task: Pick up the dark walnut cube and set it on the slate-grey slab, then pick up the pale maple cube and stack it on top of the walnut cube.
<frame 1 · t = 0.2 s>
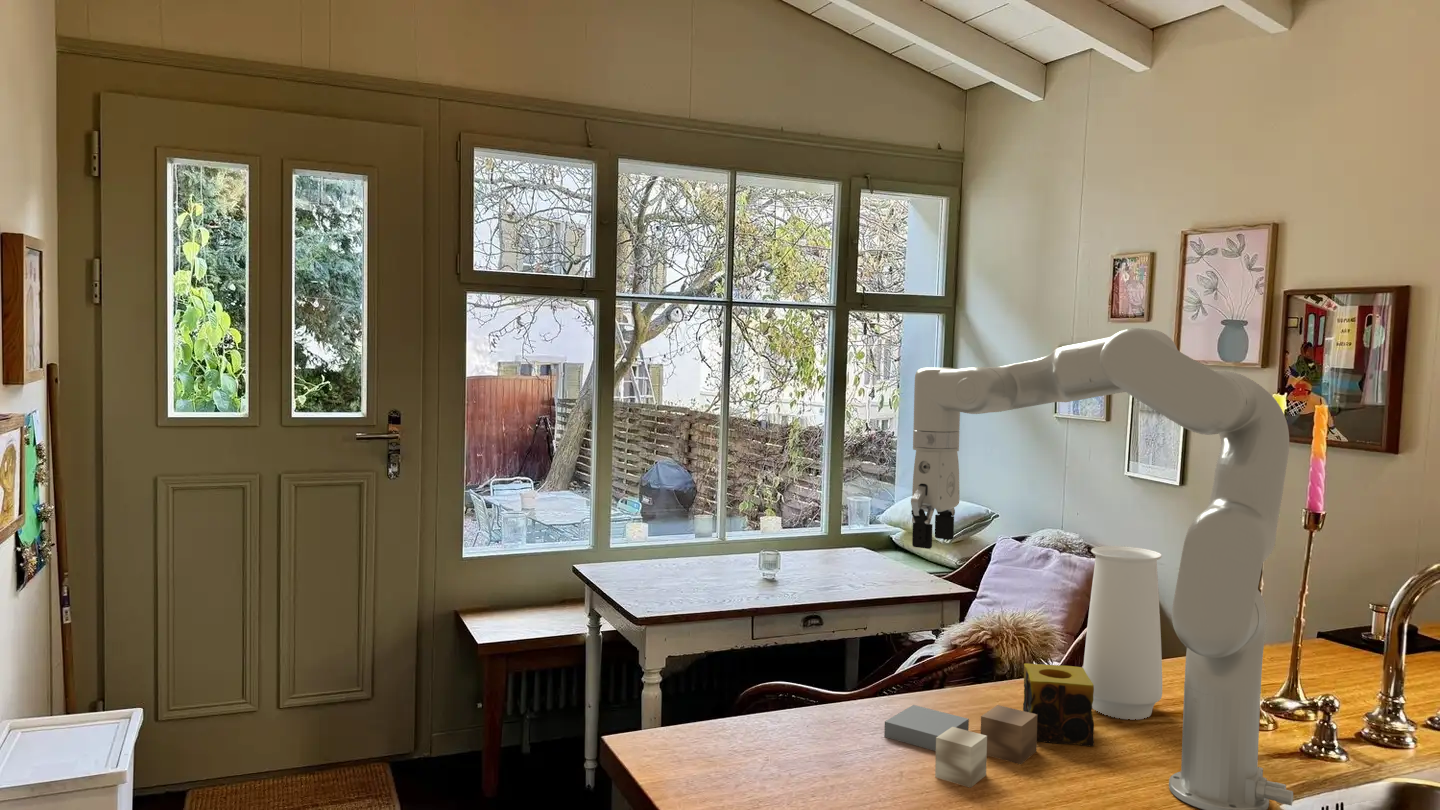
hand: (933, 543, 164), 30 cm above the worktop, fingers open, 9 cm apart
walnut block: (1008, 753, 153), on the worktop
slate slab: (926, 735, 160), on the worktop
vase: (1120, 710, 172), on the worktop
maple block: (960, 776, 144), on the worktop
yellow holed cube: (1056, 734, 161), on the worktop
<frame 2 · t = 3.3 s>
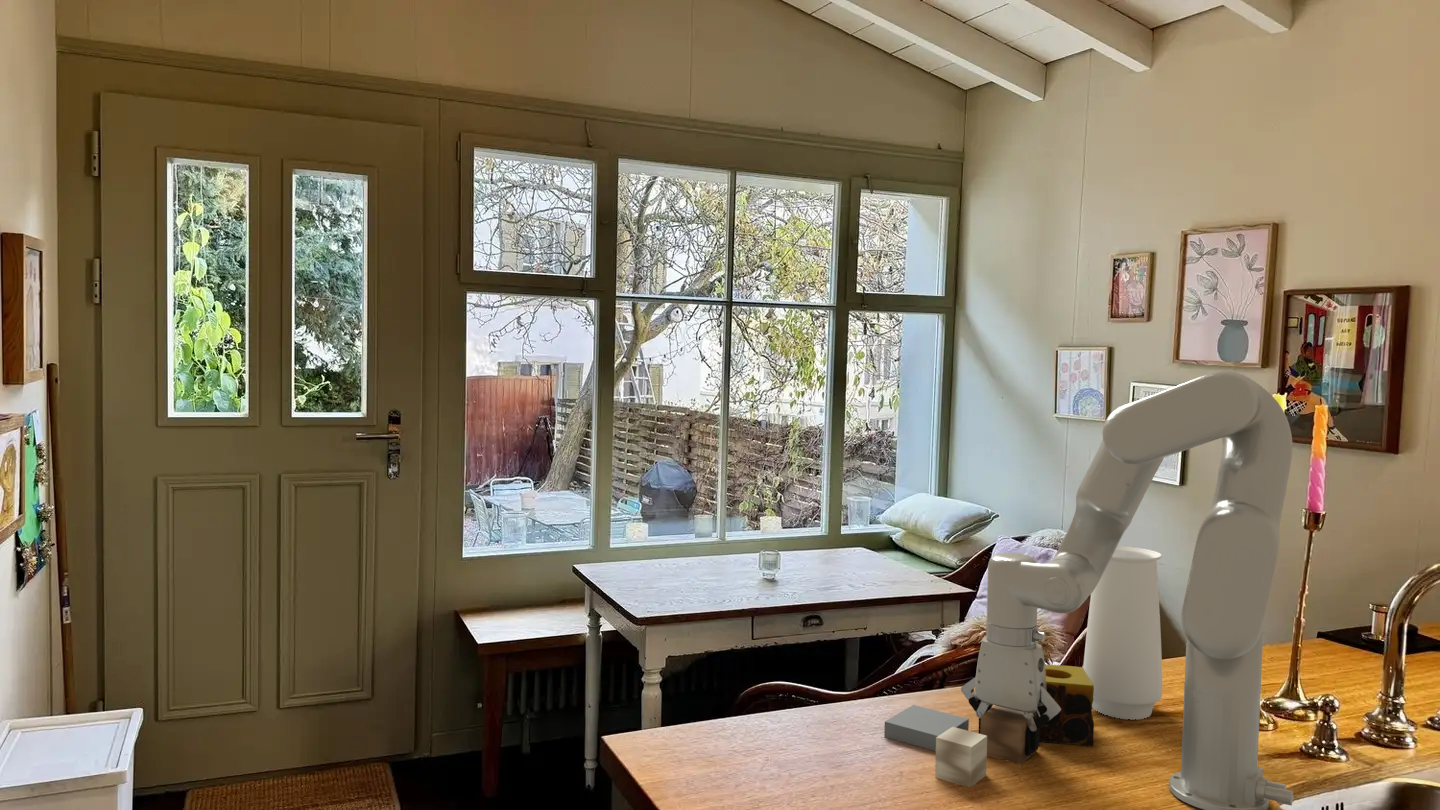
hand: (1008, 746, 153), 1 cm above the worktop, fingers closed on walnut block, 6 cm apart
walnut block: (1008, 752, 153), on the worktop, touching gripper
everything else where it was.
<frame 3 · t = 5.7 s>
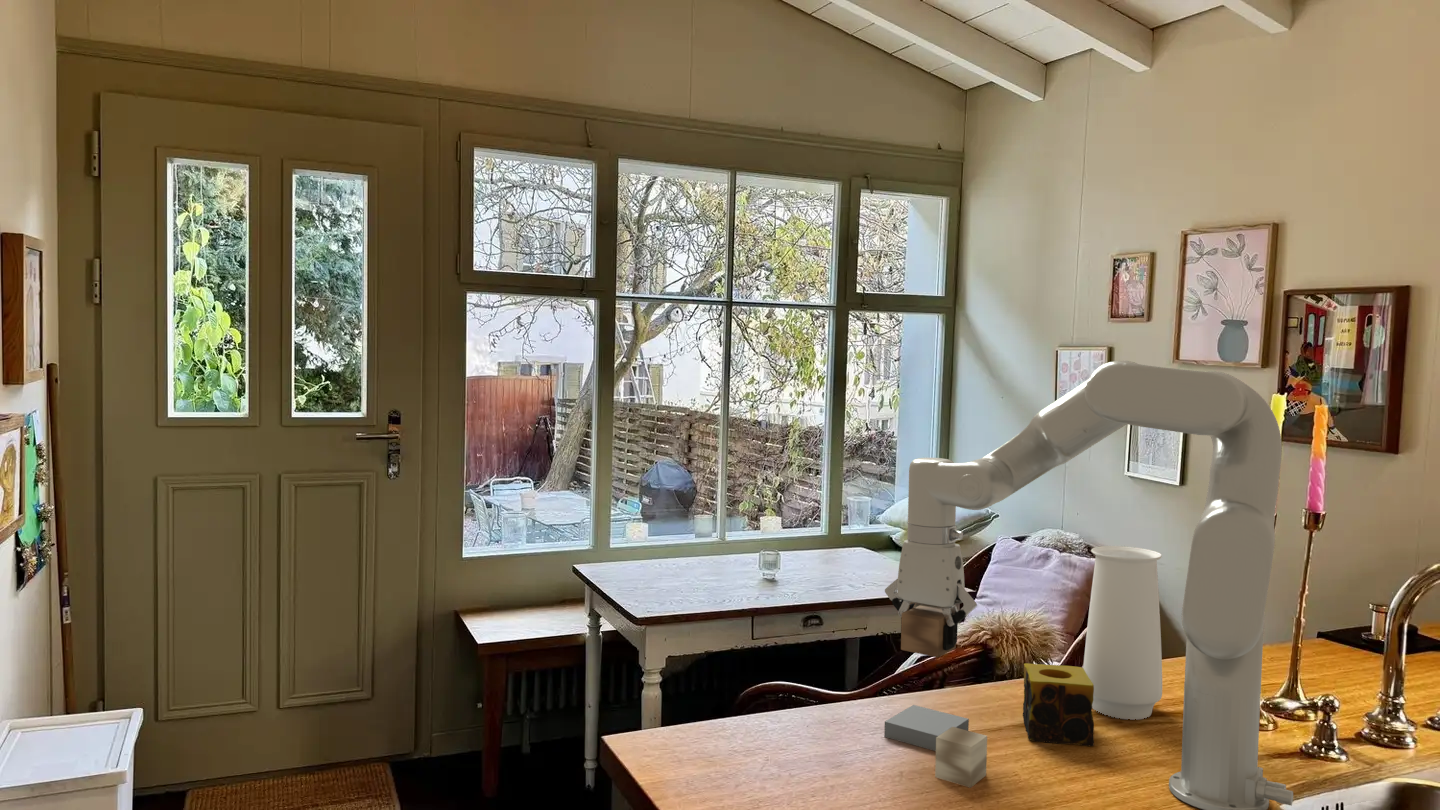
hand: (928, 643, 159), 15 cm above the worktop, fingers closed on walnut block, 6 cm apart
walnut block: (928, 648, 159), point 14 cm above the worktop, touching gripper
everything else where it was.
when the fingers open (4 cm above the worktop, at t = 8.1 s): walnut block stays where it is, resting on slate slab.
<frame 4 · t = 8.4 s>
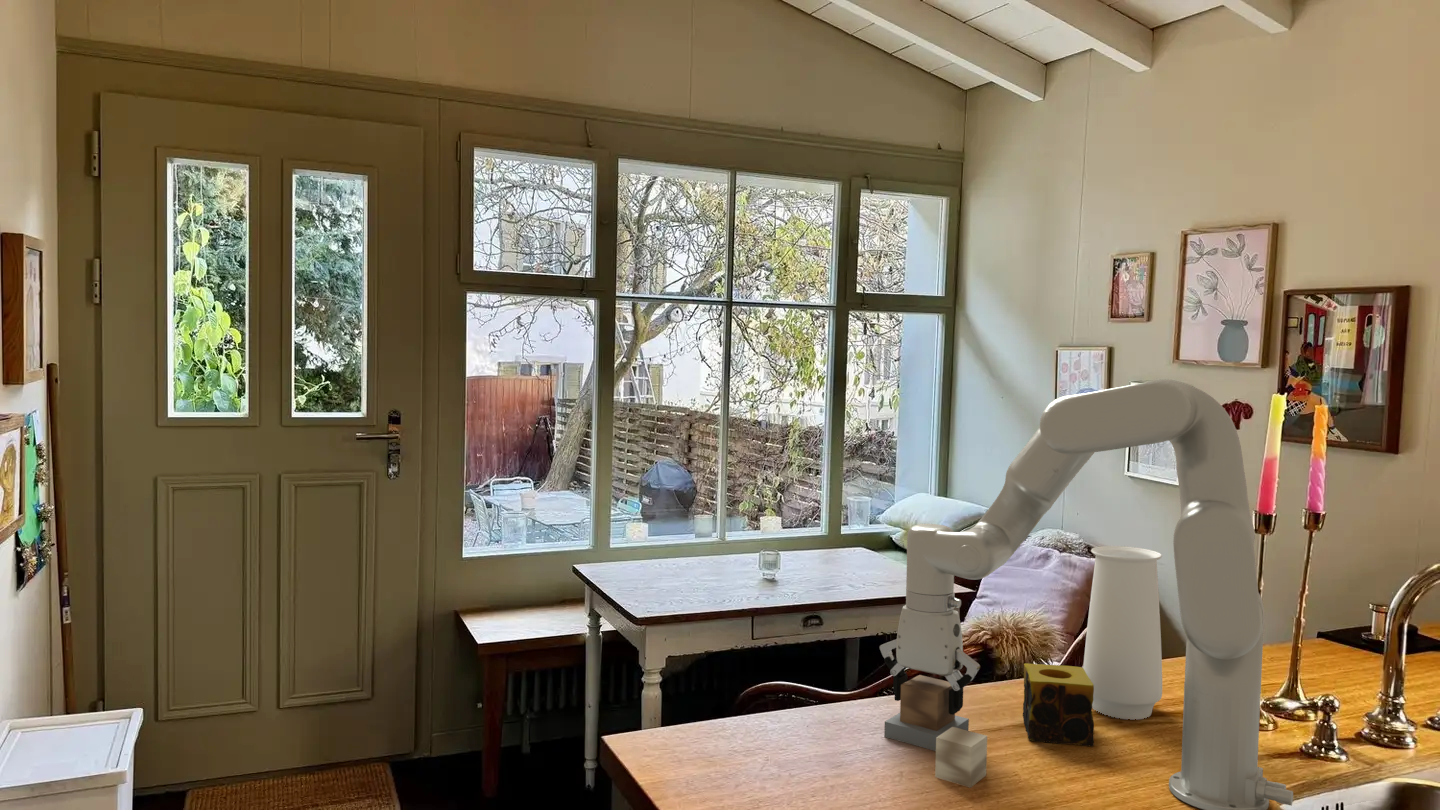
hand: (927, 705, 159), 5 cm above the worktop, fingers open, 9 cm apart
walnut block: (927, 720, 159), point 2 cm above the worktop, touching slate slab
everything else where it was.
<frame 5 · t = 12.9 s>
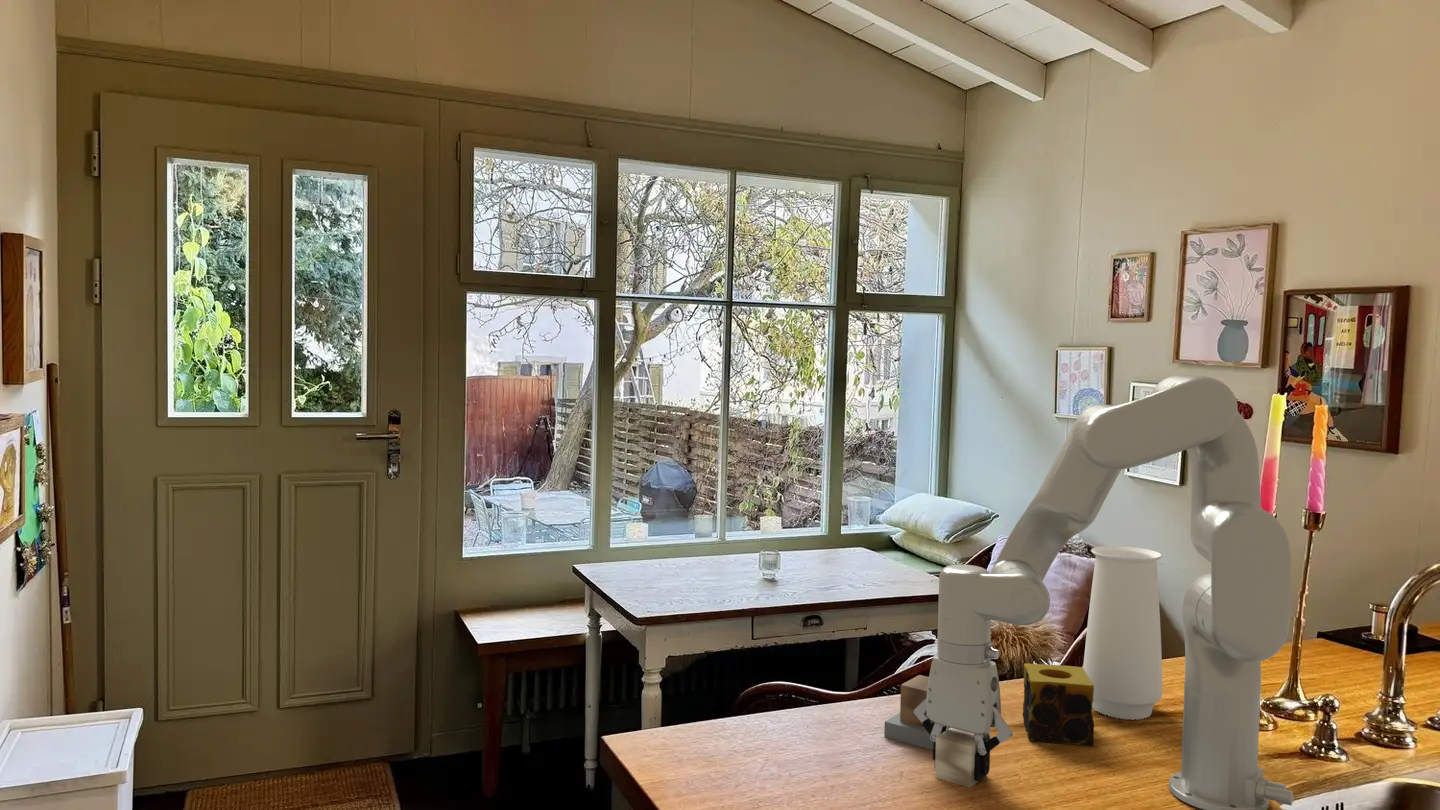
hand: (960, 770, 144), 1 cm above the worktop, fingers closed on maple block, 5 cm apart
maple block: (960, 776, 144), on the worktop, touching gripper
everything else where it was.
when the fingers open (10 cm above the worktop, at t = 17.3 s): maple block stays where it is, resting on walnut block.
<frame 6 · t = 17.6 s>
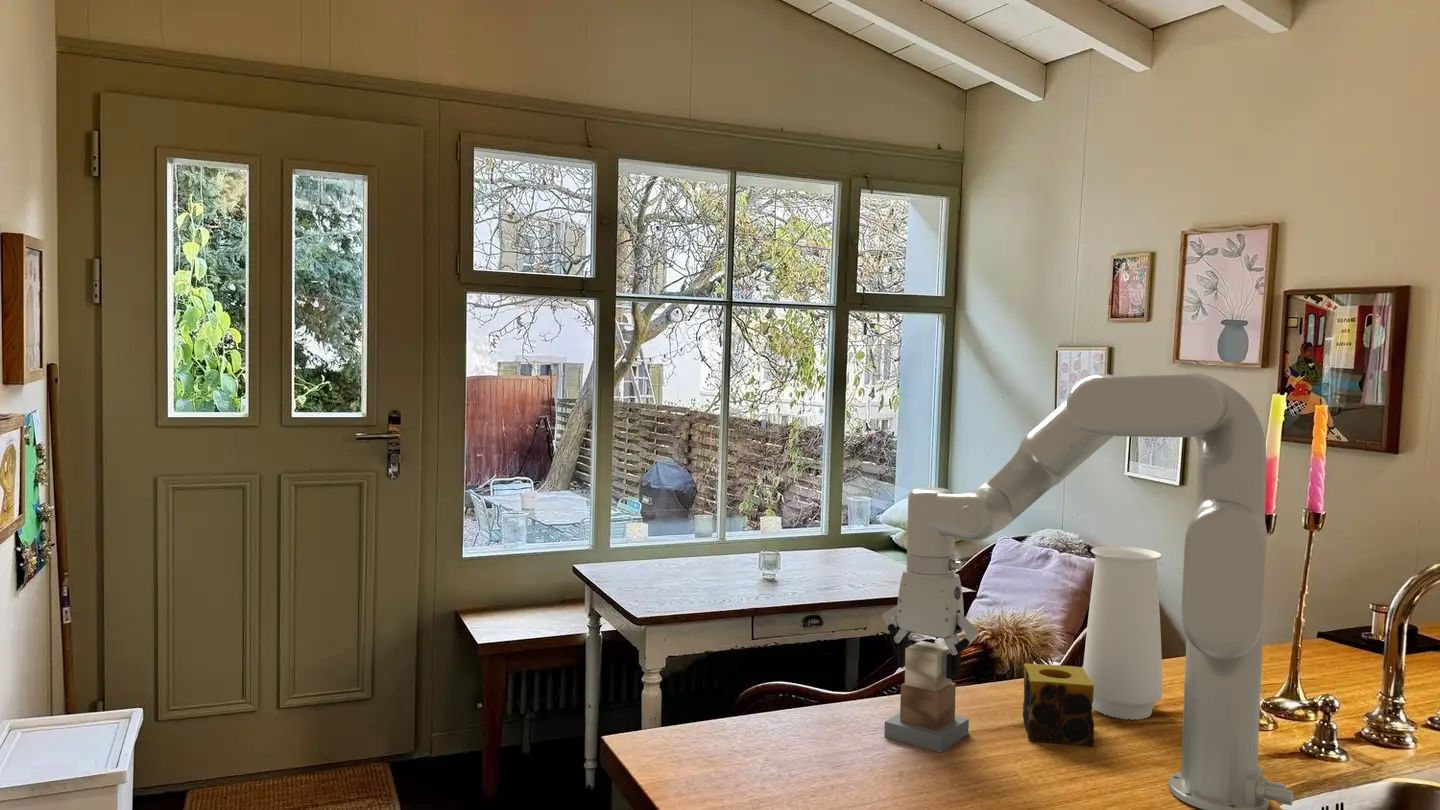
hand: (928, 670, 159), 11 cm above the worktop, fingers open, 8 cm apart
walnut block: (927, 720, 159), point 2 cm above the worktop, touching maple block, slate slab
maple block: (928, 684, 159), point 8 cm above the worktop, touching walnut block
everything else where it was.
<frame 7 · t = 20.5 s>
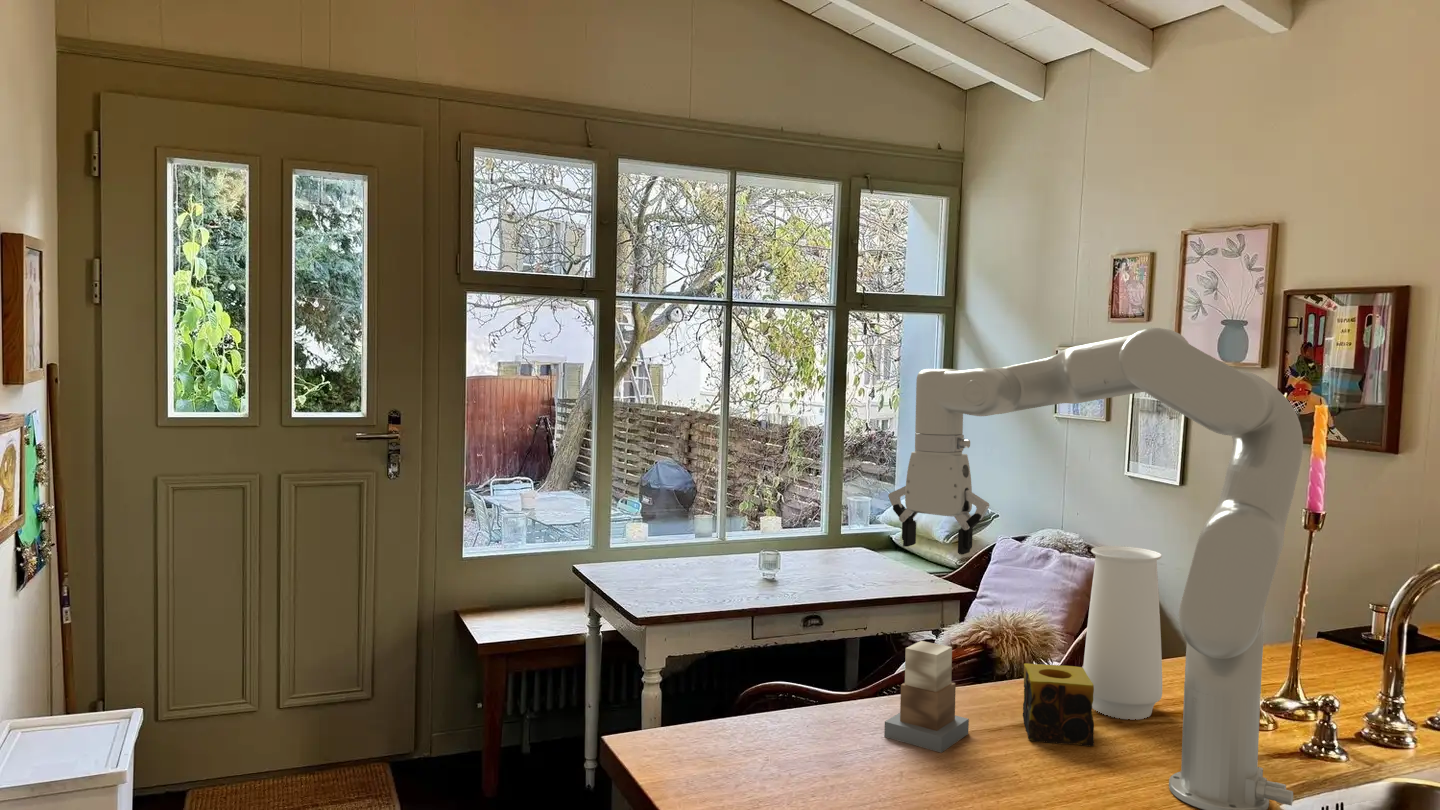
hand: (936, 549, 160), 30 cm above the worktop, fingers open, 9 cm apart
nothing on the worktop moved.
at the end: walnut block inside the target area on the slate slab (0.1 cm from its centre), point 2.5 cm above the slate slab's base; maple block inside the target area on the slate slab (0.1 cm from its centre), point 8.5 cm above the slate slab's base; maple block tilted 0° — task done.
